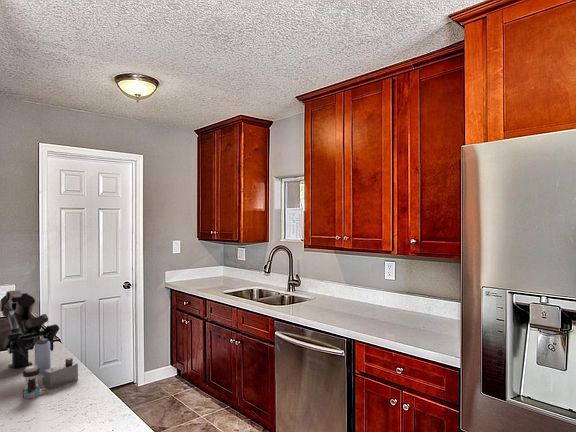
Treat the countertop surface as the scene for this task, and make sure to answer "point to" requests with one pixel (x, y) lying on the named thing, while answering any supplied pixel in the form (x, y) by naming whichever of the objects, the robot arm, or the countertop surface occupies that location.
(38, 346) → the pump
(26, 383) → the push button
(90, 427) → the countertop surface
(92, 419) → the countertop surface
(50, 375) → the motor block
